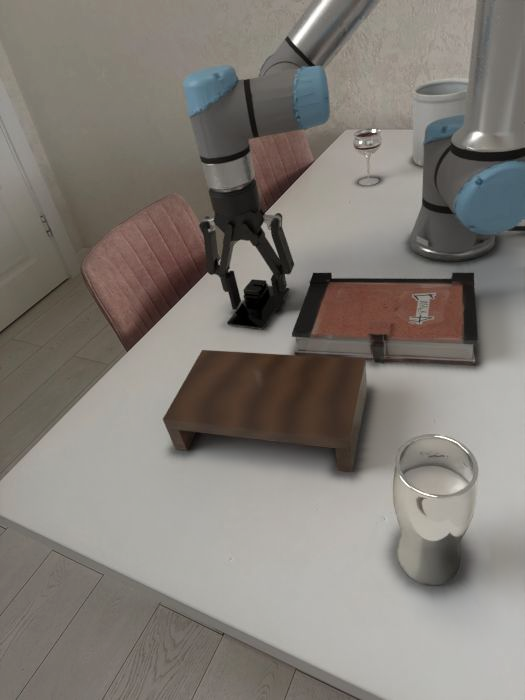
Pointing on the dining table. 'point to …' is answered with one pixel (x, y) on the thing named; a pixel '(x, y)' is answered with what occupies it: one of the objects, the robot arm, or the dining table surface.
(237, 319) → the build plate
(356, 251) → the dining table surface
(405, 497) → the beer glass
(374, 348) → the book
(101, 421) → the dining table surface
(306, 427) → the shelf
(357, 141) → the wineglass
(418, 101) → the utensil holder
